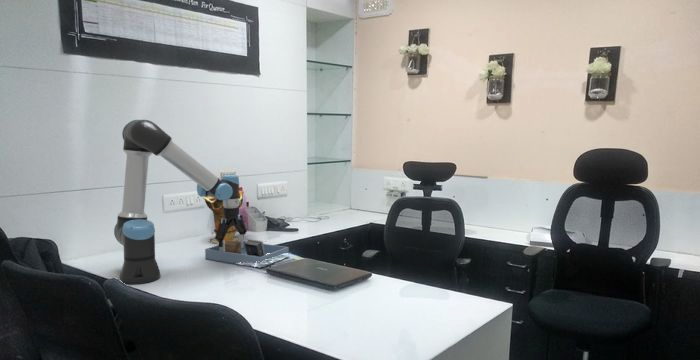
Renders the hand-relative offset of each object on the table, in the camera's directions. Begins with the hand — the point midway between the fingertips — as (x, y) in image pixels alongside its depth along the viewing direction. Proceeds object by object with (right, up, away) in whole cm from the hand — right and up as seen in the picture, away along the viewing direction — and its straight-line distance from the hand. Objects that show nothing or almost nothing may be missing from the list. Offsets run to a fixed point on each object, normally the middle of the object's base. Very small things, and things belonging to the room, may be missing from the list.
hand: (231, 250), depth 234 cm
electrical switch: (+13, -3, -6) cm, 15 cm away
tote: (+8, -3, -4) cm, 10 cm away
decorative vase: (-11, +1, +33) cm, 34 cm away
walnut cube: (0, -2, 0) cm, 2 cm away
